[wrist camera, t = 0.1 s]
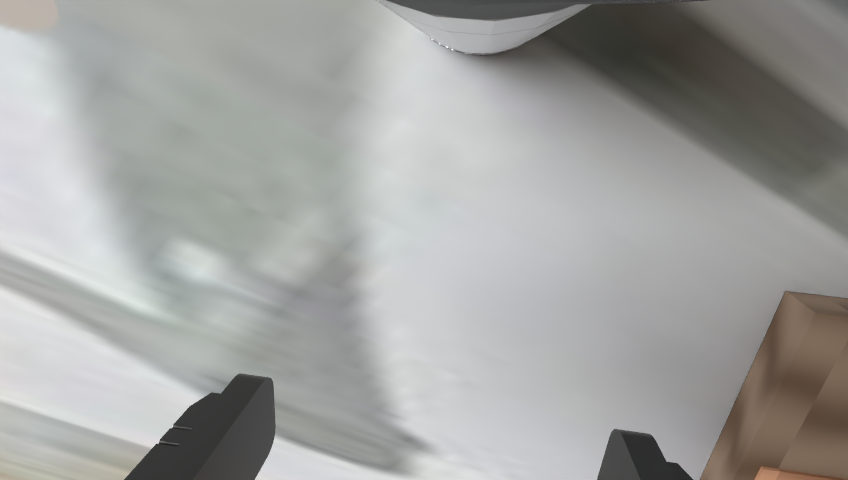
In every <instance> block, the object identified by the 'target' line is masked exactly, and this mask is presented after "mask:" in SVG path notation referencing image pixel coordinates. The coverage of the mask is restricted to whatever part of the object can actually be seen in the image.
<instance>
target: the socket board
mask: <svg viewBox="0 0 848 480" xmlns="http://www.w3.org/2000/svg"><path fill="white" fill-rule="evenodd" d="M700 480H848V299H847V298H838V297H830V296H822V295H813V294H805V293H797V292H789V291H785V294H784V296H783V298H782V300H781V302H780V305H779V307H778V309H777V311H776V313H775V316H774V318H773V320H772V322H771V324H770V327H769V329H768V331H767V333H766V335H765V338H764V340H763V342H762V344H761V346H760V349H759V351H758V353H757V355H756V357H755V360H754V362H753V364H752V366H751V368H750V371H749V373H748V375H747V377H746V379H745V382H744V384H743V386H742V388H741V390H740V393H739V395H738V397H737V399H736V401H735V404H734V406H733V408H732V410H731V412H730V415H729V417H728V419H727V421H726V423H725V426H724V428H723V430H722V432H721V434H720V437H719V439H718V441H717V443H716V445H715V448H714V450H713V452H712V454H711V456H710V459H709V461H708V463H707V465H706V467H705V470H704V472H703V474H702V476H701V478H700Z"/></svg>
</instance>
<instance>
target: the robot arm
mask: <svg viewBox="0 0 848 480" xmlns="http://www.w3.org/2000/svg"><path fill="white" fill-rule="evenodd" d="M376 1H378V2H379V3H381V4H382V5H384V6H385V7H387V8H388V9H390V10H391V11H392V12H394V13H395V14H397V15H398V16H400V17H401V18H403V19H404V20H406V21H407V22H409V23H410V24H411V25H413V26H414V27H416V28H417V29H419V30H420V31H422V32H423V33H425V34H426V35H427V36H429V37H430V39H431V40H433V41H434V42H436V43H438V44H440V45H441V46H443V47H446V48H448V49H449V48H450V49H451V50H453V51H457V52H461V53H465V54H466V53H468V54H472V55H484V54H485V55H488V54H497V53H501V52H506V51H509V50H511V49H514V48H517V47H519V46H520V45H521V44H523V43H525V42H527V41H529V40H531V39H533V38H535V37H536V36H538V35H540V34H542V33H543V32H545V31H547V30H549V29H550V28H552V27H554V26H556V25H558V24H559V23H561V22H563V21H565V20H566V19H568V18H570V17H572V16H573V15H575V14H577V13H579V12H580V11H582V10H583V9H585V8H587V7H588V6H590V5H592V4H626V3H662V2H689V1H705V0H376ZM274 436H275V408H274V387H273V381H272V379H271V378H268V377H261V376H254V375H247V374H238V375H237V376H235V378H234V379H233V380H232V381H231V382H230V383H229V385H228V386H227V387H226V388H225V389H224V391H223V392H222V393H221V394H218V393H210V394H209V395H207V396H205V397H204V398H202V399H201V400H199V401H198V402H196V403H194V404H193V405H191V406H190V407H189V408H188V409H187V410H186V411H185V412H184V413H183V415H182V416H181V417H180V418H179V419H178V420H177V421H176V422H175V424H174V425H173V428H170V429H169V430H168V431H167V432H166V434H165V435H164V436H163V437H162V438H161V439H160V442H159V444H156V445H155V446H154V447H153V448H152V449H151V450H150V451H149V453H148V454H147V455H146V456H145V457H144V458H143V459H142V460H141V462H140V463H139V464H138V465H137V466H136V467H135V468H134V469H133V470H132V472H131V473H130V474H129V475H128V476H127V477H126V478H125V479H124V480H255V478H256V476H257V474H258V472H259V471H260V469H261V467H262V465H263V464H264V462H265V460H266V458H267V456H268V455H269V452H270V450H271V447H272V444H273V440H274ZM597 480H693V479H692V478H691V477H690V476H689V475H688V474H687V473H686V472H685V471H684V470H683V469H682V468H681V467H680V466H679V465H678V463H671V462H666V460H665V458H664V456H663V454H662V452H661V450H660V448H659V446H658V444H657V442H656V441H655V439H654V437H653V436H652V435H650V434H646V433H639V432H632V431H625V430H618V429H614V430H613V431H612V433H611V435H610V438H609V441H608V444H607V448H606V451H605V455H604V458H603V461H602V465H601V468H600V472H599V475H598V479H597Z"/></svg>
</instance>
